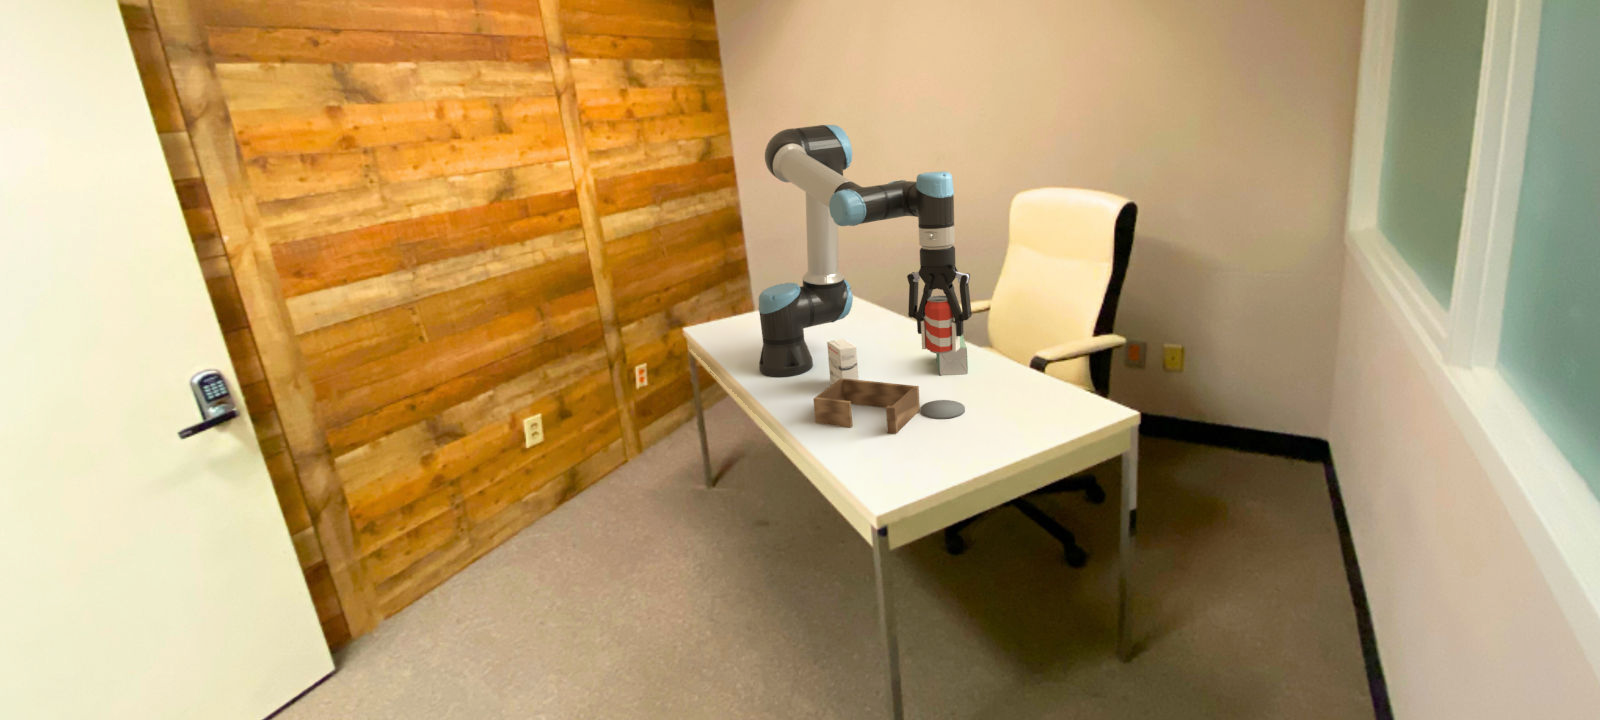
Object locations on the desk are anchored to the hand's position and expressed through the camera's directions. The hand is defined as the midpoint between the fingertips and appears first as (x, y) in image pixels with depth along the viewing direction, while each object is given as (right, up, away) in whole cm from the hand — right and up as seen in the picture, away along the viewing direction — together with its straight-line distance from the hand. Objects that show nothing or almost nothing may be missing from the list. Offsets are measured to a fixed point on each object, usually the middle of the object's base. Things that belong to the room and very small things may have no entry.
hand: (940, 348), depth 167 cm
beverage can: (0, -1, 0) cm, 1 cm away
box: (+9, -5, +33) cm, 35 cm away
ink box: (-20, -10, +25) cm, 34 cm away
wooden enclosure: (-16, -16, +5) cm, 23 cm away
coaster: (+1, -14, +5) cm, 15 cm away
